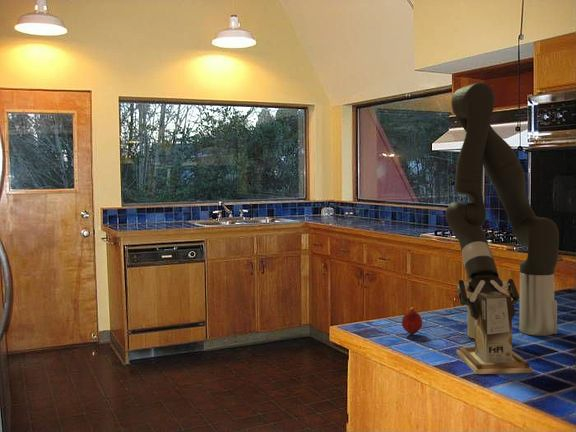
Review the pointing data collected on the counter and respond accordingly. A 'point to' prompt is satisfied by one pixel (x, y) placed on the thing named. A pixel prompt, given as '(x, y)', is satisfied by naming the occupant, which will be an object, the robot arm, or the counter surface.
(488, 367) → the wooden tray
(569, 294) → the counter surface
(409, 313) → the onion
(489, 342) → the coffee box
